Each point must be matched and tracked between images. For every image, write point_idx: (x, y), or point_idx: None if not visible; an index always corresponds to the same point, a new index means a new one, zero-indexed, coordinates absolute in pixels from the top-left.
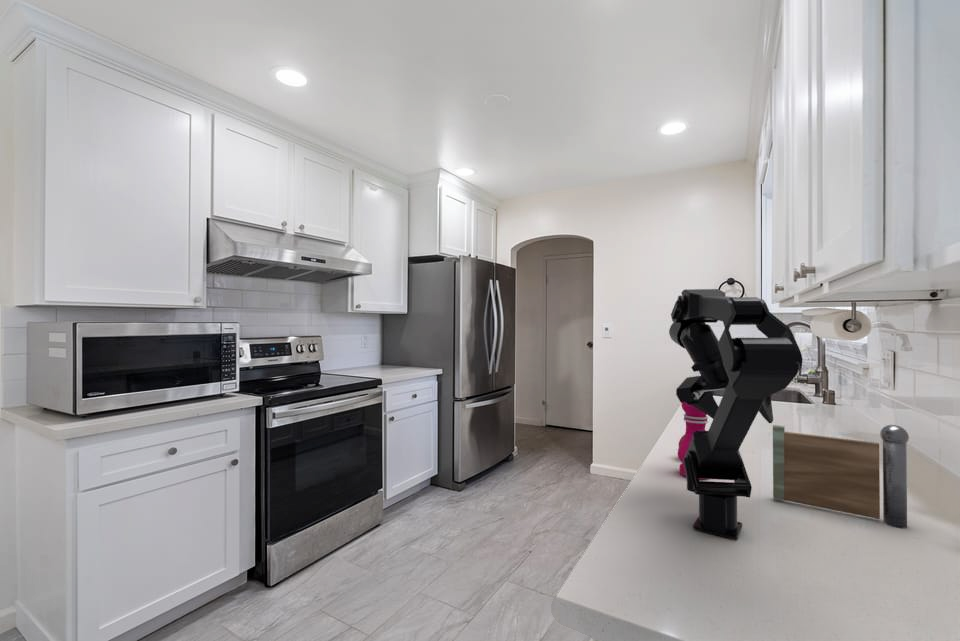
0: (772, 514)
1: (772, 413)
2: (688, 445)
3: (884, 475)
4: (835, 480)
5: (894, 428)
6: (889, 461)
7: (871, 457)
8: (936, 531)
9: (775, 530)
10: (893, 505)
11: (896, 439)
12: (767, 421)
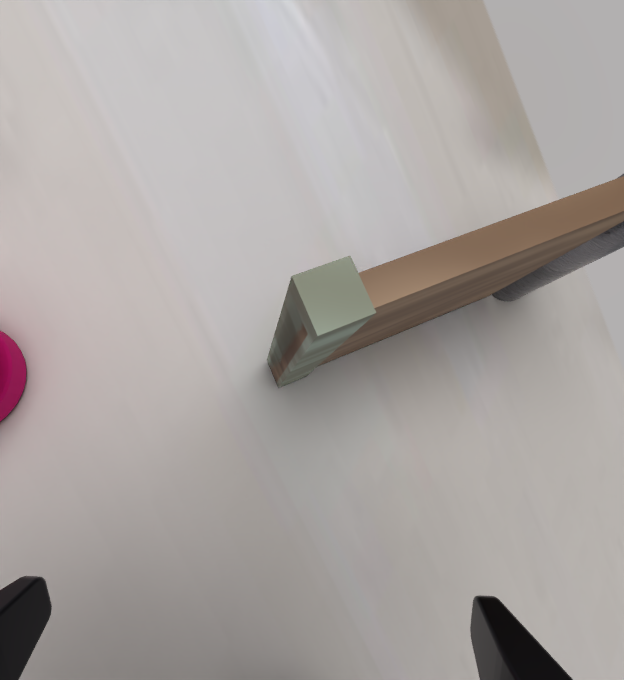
0: (329, 497)
1: (548, 658)
2: None
3: (586, 242)
4: (454, 301)
5: None
6: None
7: (609, 226)
8: None
9: (394, 611)
10: (547, 283)
11: None
12: (478, 667)
